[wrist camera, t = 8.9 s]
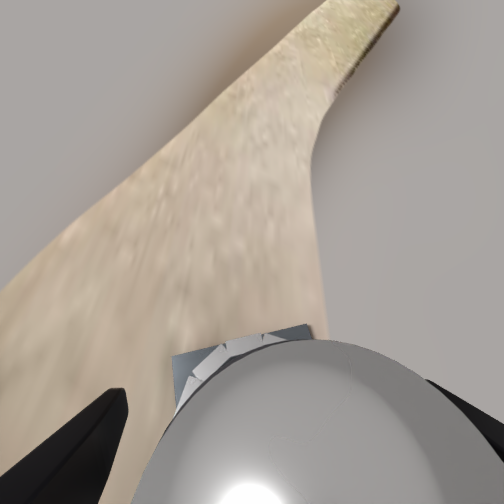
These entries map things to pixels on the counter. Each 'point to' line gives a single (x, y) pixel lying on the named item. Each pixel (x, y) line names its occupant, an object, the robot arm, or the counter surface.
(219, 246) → the counter surface
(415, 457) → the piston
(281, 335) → the sleeve
